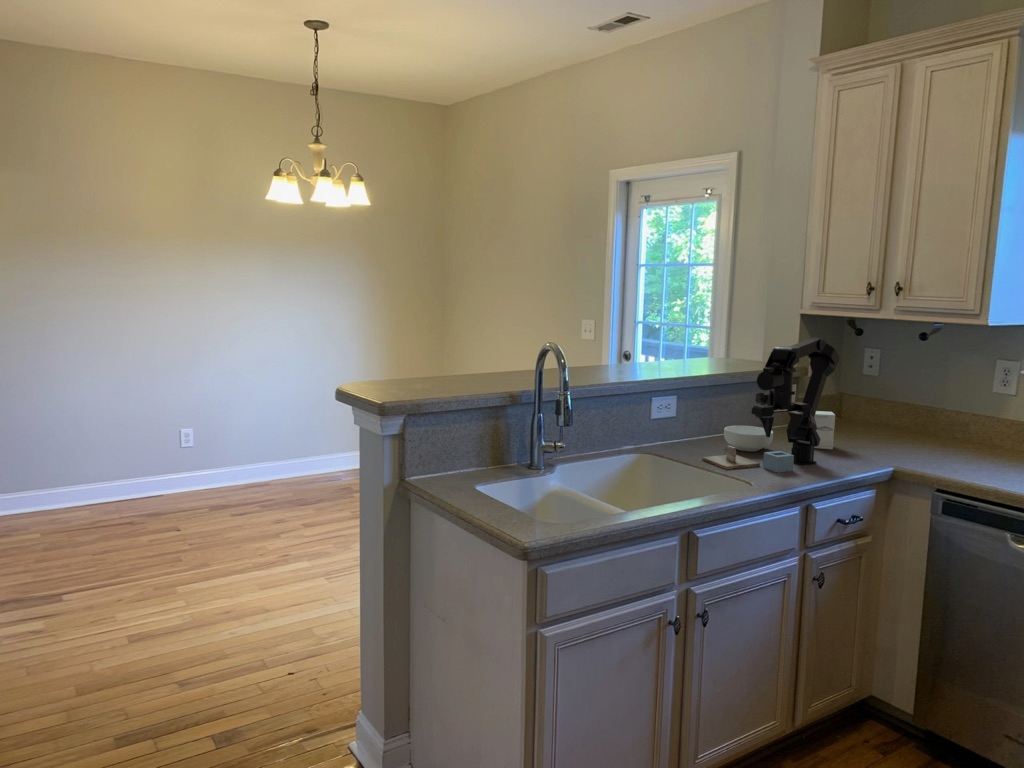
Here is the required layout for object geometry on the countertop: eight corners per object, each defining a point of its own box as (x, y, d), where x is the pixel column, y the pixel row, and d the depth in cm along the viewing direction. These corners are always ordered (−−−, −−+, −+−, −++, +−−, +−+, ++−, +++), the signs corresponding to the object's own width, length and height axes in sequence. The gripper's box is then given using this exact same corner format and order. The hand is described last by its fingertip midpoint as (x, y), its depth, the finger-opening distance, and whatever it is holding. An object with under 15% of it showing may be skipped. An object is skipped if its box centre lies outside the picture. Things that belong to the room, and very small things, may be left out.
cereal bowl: (775, 455, 258) (776, 435, 257) (725, 453, 262) (726, 433, 261) (769, 445, 275) (770, 425, 274) (721, 442, 278) (722, 423, 277)
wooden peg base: (735, 457, 256) (735, 441, 255) (759, 466, 244) (760, 449, 243) (702, 460, 251) (702, 444, 251) (726, 469, 239) (726, 452, 238)
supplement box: (811, 448, 269) (813, 413, 267) (808, 444, 276) (810, 410, 274) (833, 449, 267) (835, 414, 266) (829, 445, 275) (832, 411, 273)
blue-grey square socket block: (779, 466, 244) (780, 450, 243) (793, 470, 238) (794, 455, 237) (763, 467, 242) (763, 452, 241) (776, 472, 236) (777, 457, 235)
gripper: (789, 382, 247) (786, 429, 249) (741, 385, 241) (739, 433, 243) (813, 387, 237) (810, 436, 239) (764, 390, 230) (761, 440, 233)
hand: (779, 436), depth 239 cm, fingers open, 9 cm apart
